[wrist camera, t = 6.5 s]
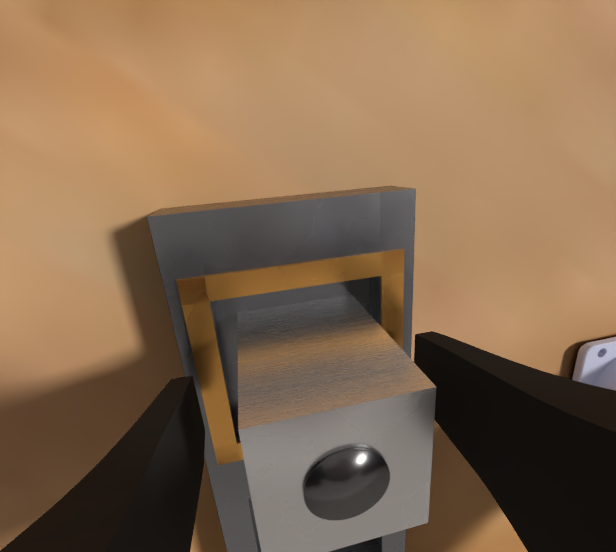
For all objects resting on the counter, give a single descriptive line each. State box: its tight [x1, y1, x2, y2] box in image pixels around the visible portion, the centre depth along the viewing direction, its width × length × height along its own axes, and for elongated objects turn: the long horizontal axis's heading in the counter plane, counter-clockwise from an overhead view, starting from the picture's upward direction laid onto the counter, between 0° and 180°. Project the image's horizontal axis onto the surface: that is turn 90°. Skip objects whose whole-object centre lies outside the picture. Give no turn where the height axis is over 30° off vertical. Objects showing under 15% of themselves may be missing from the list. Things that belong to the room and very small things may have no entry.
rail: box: [147, 186, 416, 552], centre depth 15 cm, size 8×28×2 cm, turn 4°
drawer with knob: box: [237, 295, 436, 552], centre depth 10 cm, size 4×4×6 cm
